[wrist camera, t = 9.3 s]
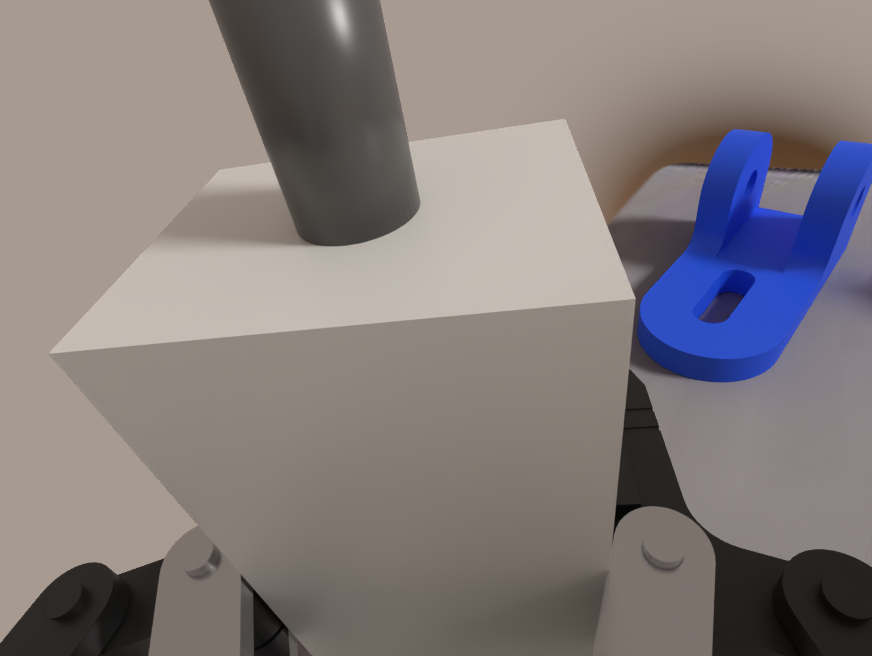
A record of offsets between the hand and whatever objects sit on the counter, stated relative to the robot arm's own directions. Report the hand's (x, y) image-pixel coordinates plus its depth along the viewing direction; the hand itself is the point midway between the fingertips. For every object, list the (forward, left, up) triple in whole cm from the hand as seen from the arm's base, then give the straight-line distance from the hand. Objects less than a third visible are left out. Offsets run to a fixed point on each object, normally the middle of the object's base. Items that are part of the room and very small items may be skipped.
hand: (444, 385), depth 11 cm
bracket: (-17, -22, -17) cm, 33 cm away
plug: (0, +3, -7) cm, 8 cm away
